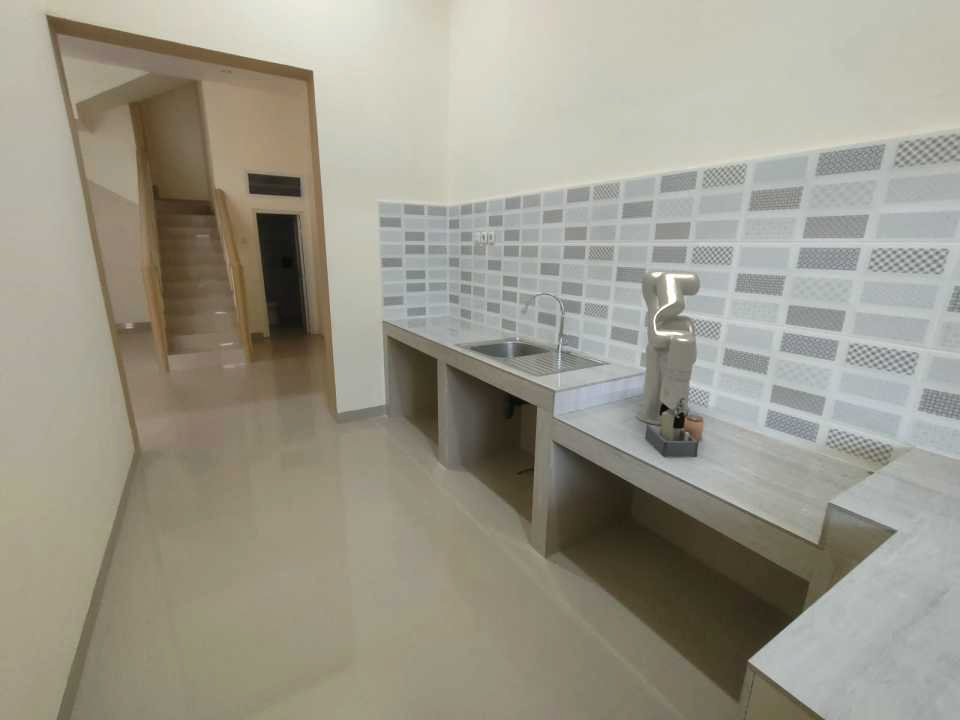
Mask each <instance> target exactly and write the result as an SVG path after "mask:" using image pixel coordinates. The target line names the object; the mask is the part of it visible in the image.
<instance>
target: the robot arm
mask: <svg viewBox="0 0 960 720" xmlns="http://www.w3.org/2000/svg"><path fill="white" fill-rule="evenodd" d="M700 288H701V279H700V277H699V274H697V273H696V272H693V271H689V270H651V271H647V272H646V273H645V274H644V275H643V276H642V279H641V292H642V297H643V299H644V302H645V305H646V307H647V321H648V322H647V328H646V330H647V333H646V334H647V345H646V346H645V364H646V365H645V366H646V367H645V378H644V386H643V395H642V403H641V404H640V406H641V411H638V412H637V413H636V418H637V419H638V420H639V421H641V422H643V423H644V424H645V423H646V424H648V425H655V426H661V420H662V413H663V412H664V411H666V410H668V409H671V410H675V414H676V417H675V418H674V424H673V428H674V429H683V428H684V422H685V418H686V416H687V415H689V413H690V410H691V409H690V407H689V405H688V403H689V396H690V381H691V378H692V373H693V372H692V370H693V366H694V365H695V363H696V361H697V357H698V356H697V355H698V349H697V339H696V331H695V330H696V329H695V323H694V321H693V319H692V318H691V317H689V316H687V315H680V314H682V313H683V312H684V311H685V308H686V303H685V298H684V297H685V296H686V297H688V296H691V297H692V296H696V295H697V294H698V292H700ZM679 411H682V412H681V413H680V414H679Z"/></svg>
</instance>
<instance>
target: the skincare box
mask: <svg viewBox="0 0 960 720" xmlns="http://www.w3.org/2000/svg"><path fill="white" fill-rule="evenodd" d="M681 412H682V411H679V414H680V413H681ZM675 417H676V414H675V410H671V409H668V410H666V411H664V412H663V413H662V420H661V425H660V429H659V431H660V432H659V435H661V436H662V437H663V438H664V439H665V440H666V441H679V436H680V429H674V428H673V424H674V418H675Z"/></svg>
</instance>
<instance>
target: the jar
mask: <svg viewBox="0 0 960 720" xmlns="http://www.w3.org/2000/svg"><path fill="white" fill-rule="evenodd" d="M704 423H705V420H704V417H702V416H701V415H698V414H689V413H688V415H687V416H686V418H685V422H684V428H683V430H684V431H685V432H687V433H689V435H690V436H692V437H693V438H694V439H695V440H697V441H698V442H700V440H701V441H702V437H703V430H704V429H703V428H704Z"/></svg>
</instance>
